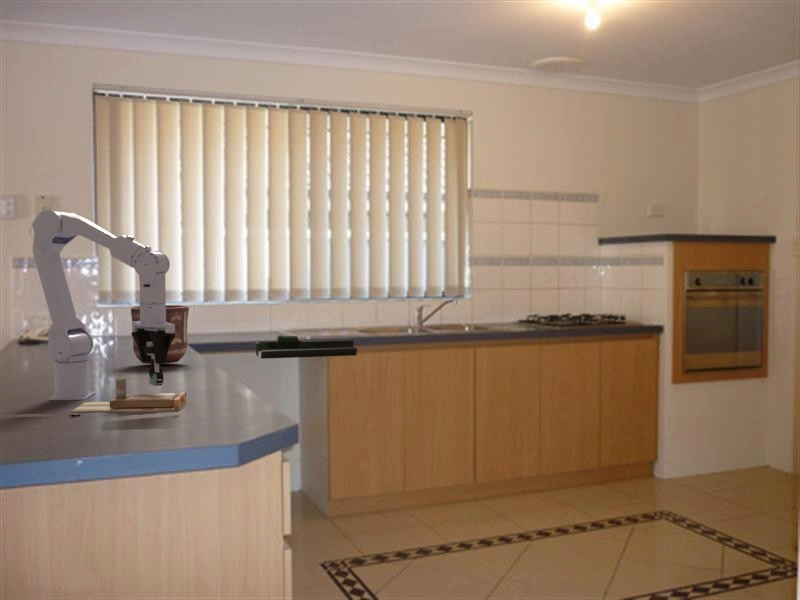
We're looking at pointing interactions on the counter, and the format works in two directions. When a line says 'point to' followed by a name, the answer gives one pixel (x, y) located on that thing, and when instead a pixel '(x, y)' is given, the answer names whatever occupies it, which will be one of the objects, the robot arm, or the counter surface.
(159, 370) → the push button
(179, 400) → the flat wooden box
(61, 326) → the robot arm
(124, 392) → the carriage
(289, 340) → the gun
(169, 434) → the counter surface
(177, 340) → the pottery
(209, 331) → the counter surface
